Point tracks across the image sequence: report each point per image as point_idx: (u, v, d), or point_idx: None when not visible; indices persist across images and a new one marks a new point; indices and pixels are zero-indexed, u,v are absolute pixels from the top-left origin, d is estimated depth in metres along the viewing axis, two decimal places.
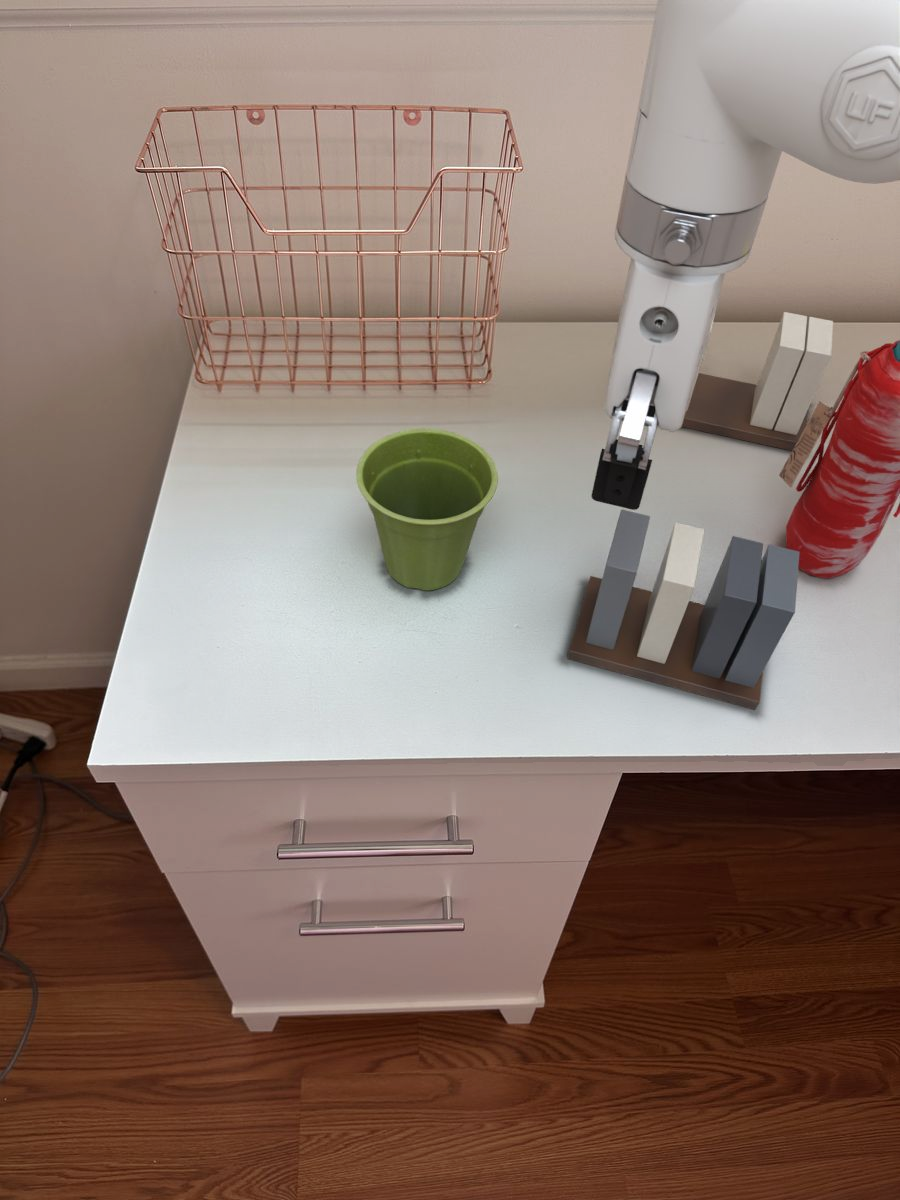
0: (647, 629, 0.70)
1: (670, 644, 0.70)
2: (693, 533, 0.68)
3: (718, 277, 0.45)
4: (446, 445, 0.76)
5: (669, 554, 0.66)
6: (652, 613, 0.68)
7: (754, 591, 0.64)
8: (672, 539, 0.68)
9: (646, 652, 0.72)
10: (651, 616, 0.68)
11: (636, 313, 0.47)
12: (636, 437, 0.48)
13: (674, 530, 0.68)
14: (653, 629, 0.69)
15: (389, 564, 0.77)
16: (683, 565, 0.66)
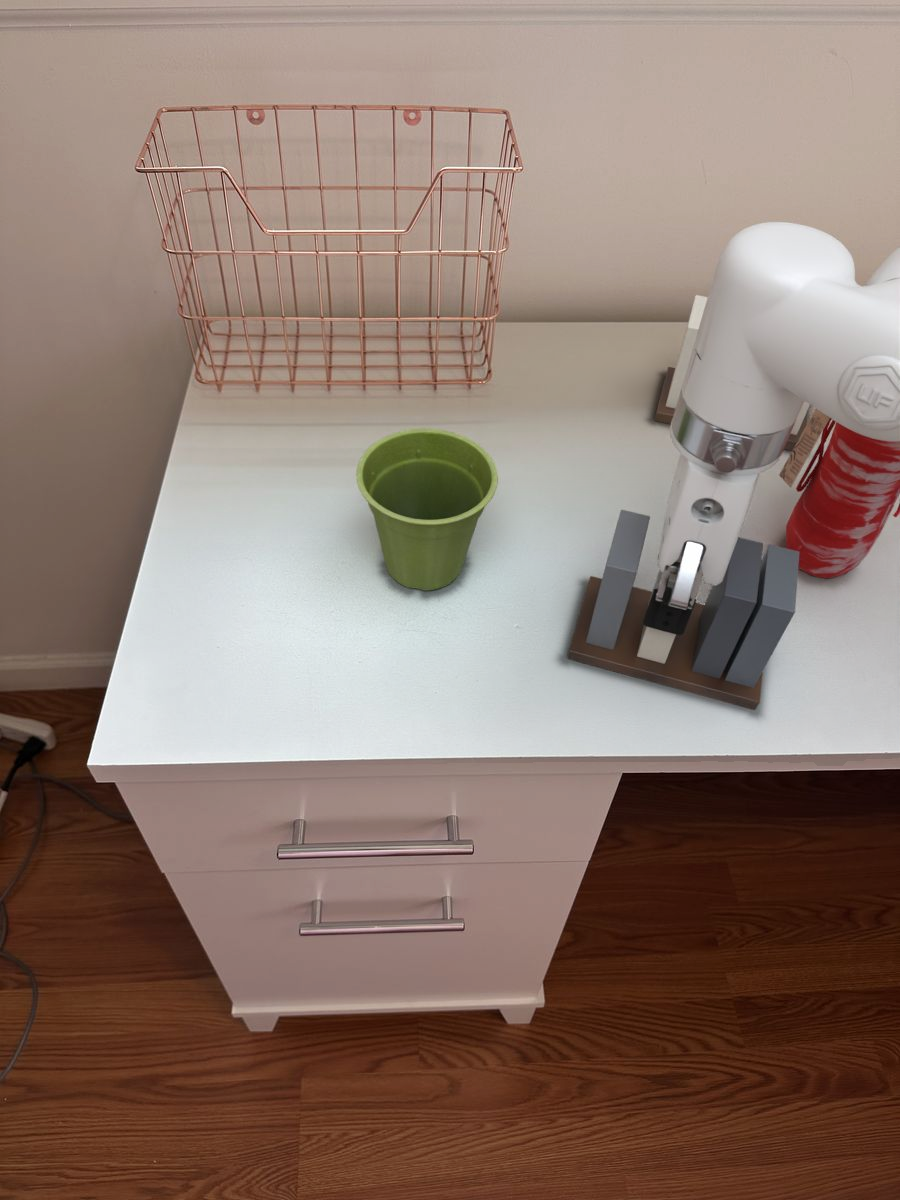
0: (647, 629, 0.70)
1: (670, 644, 0.70)
2: None
3: (757, 476, 0.56)
4: (446, 445, 0.76)
5: None
6: None
7: (754, 591, 0.64)
8: None
9: (646, 652, 0.72)
10: None
11: (688, 501, 0.57)
12: (684, 603, 0.60)
13: None
14: (653, 629, 0.69)
15: (389, 564, 0.77)
16: None
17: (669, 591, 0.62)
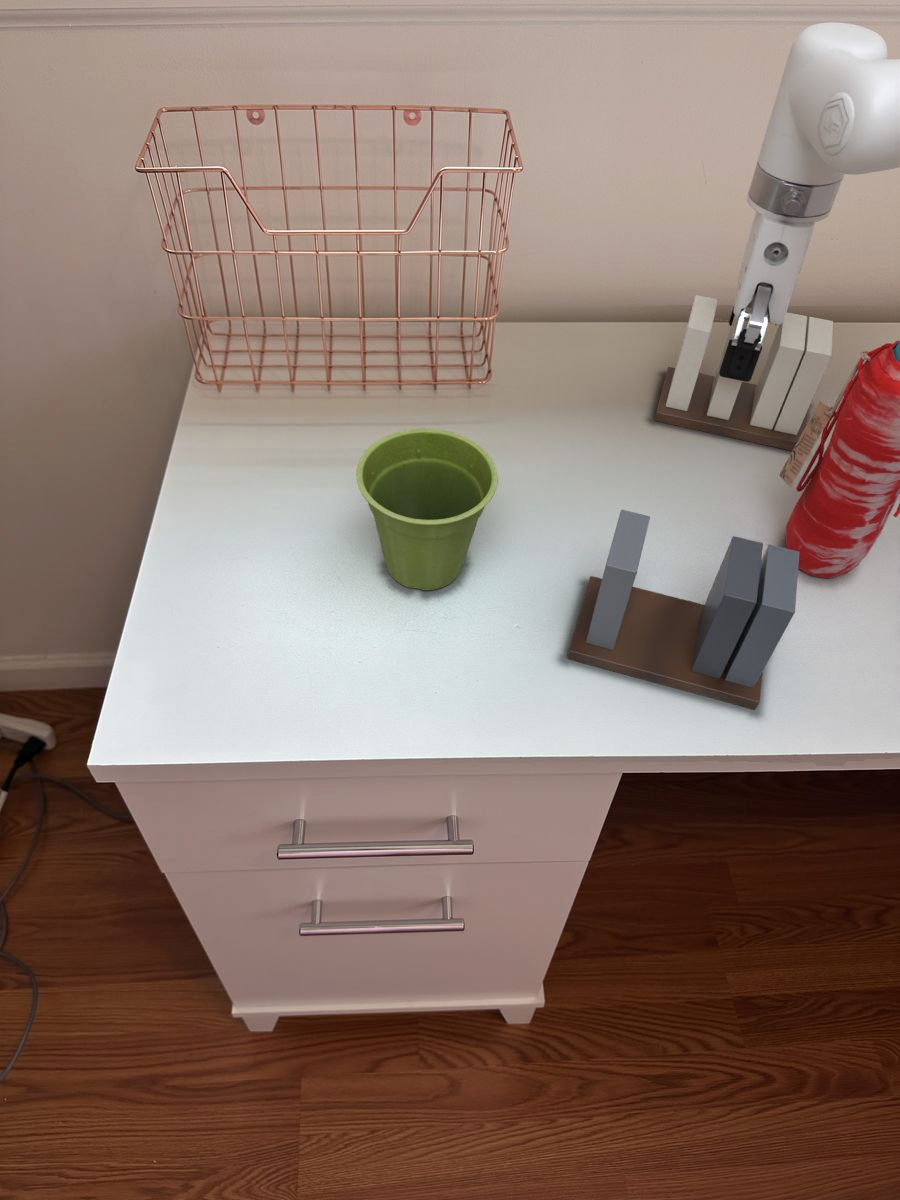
0: (717, 386, 0.91)
1: (734, 399, 0.91)
2: None
3: (813, 224, 0.76)
4: (446, 445, 0.76)
5: (736, 321, 0.88)
6: None
7: (754, 591, 0.64)
8: None
9: (714, 410, 0.93)
10: None
11: (762, 247, 0.78)
12: (760, 323, 0.79)
13: None
14: (721, 385, 0.91)
15: (389, 564, 0.77)
16: None
17: (744, 329, 0.81)
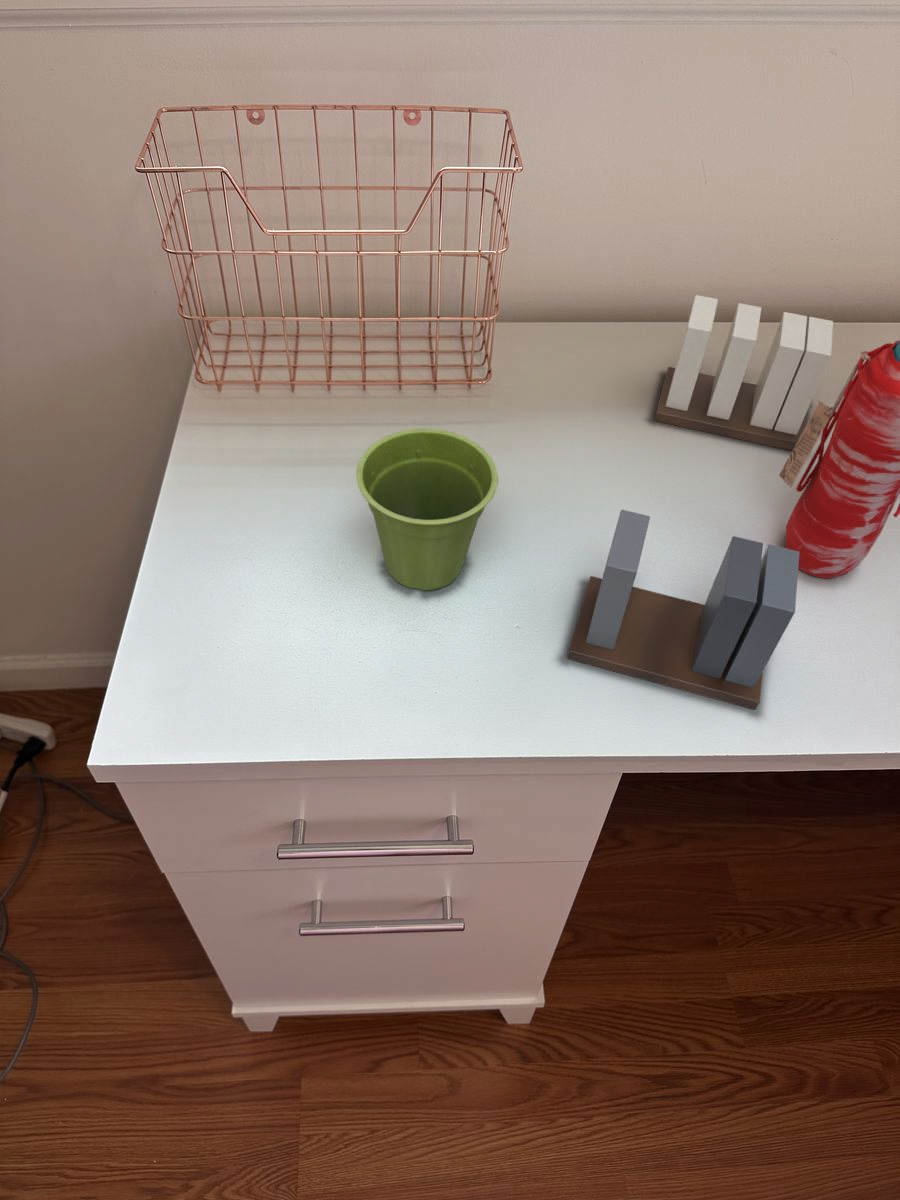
0: (717, 386, 0.91)
1: (734, 399, 0.91)
2: (752, 309, 0.89)
3: None
4: (446, 445, 0.76)
5: (736, 321, 0.88)
6: (722, 370, 0.89)
7: (754, 591, 0.64)
8: (737, 313, 0.89)
9: (714, 410, 0.93)
10: (721, 373, 0.90)
11: None
12: None
13: (738, 307, 0.89)
14: (721, 385, 0.91)
15: (389, 564, 0.77)
16: (747, 327, 0.87)
17: None
